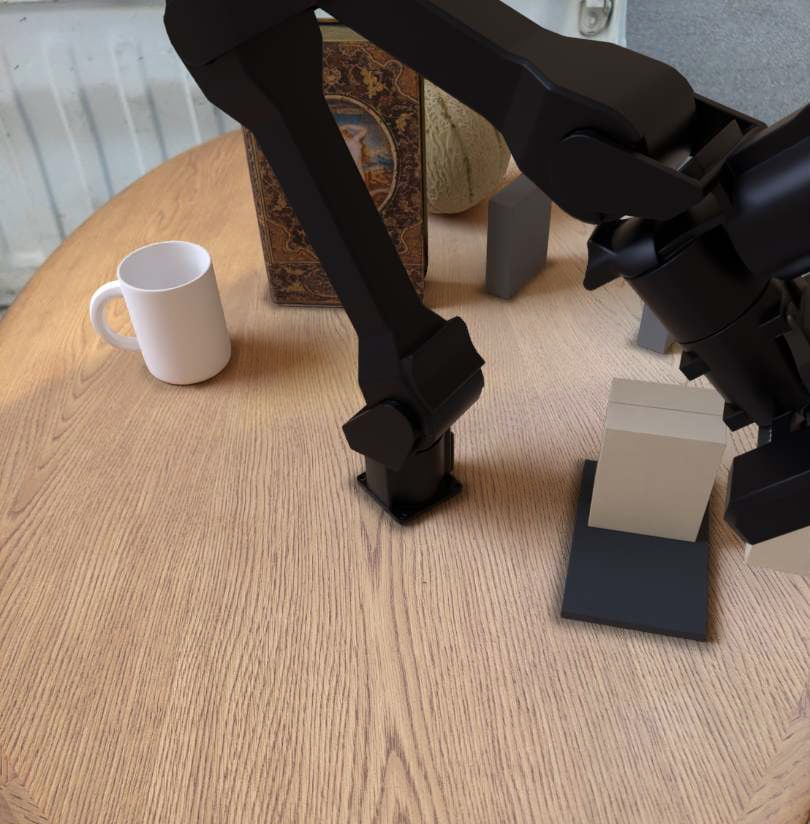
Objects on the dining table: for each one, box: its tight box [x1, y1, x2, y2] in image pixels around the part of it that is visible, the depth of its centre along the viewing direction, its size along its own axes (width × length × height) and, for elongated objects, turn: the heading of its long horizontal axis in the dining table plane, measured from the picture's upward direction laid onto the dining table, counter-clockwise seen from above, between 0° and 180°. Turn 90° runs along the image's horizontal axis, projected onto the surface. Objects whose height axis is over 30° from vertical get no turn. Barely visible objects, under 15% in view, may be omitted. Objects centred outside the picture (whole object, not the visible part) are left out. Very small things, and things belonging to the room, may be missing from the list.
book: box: [240, 17, 429, 308], centre depth 82 cm, size 16×6×25 cm, turn 84°
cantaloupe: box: [424, 78, 512, 214], centre depth 97 cm, size 15×15×15 cm
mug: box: [89, 240, 232, 386], centre depth 80 cm, size 12×8×10 cm
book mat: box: [560, 377, 728, 642], centre depth 63 cm, size 10×16×11 cm, turn 166°
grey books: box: [484, 172, 675, 355], centre depth 85 cm, size 8×20×10 cm, turn 55°
